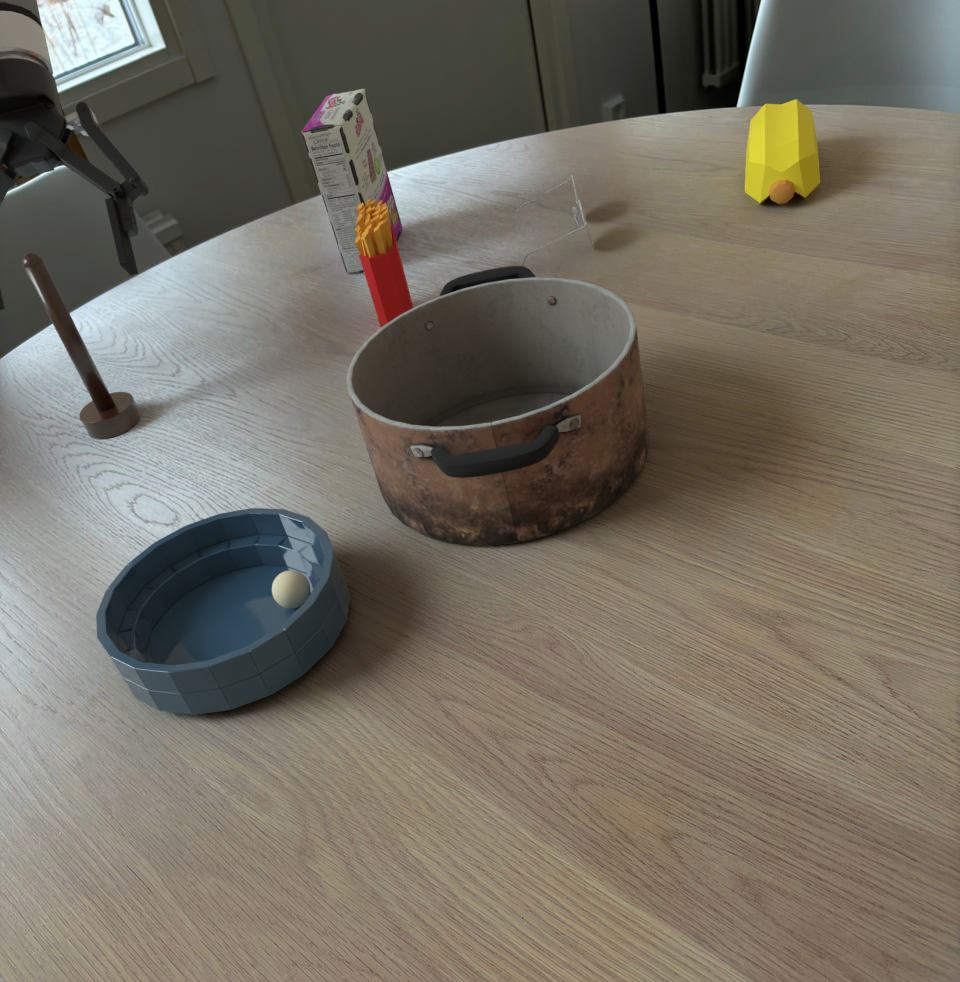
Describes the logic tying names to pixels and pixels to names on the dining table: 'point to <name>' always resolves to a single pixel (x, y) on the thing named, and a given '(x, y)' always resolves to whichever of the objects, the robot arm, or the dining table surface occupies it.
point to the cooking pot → (503, 407)
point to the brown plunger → (83, 361)
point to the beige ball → (291, 589)
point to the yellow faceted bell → (781, 153)
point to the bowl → (222, 611)
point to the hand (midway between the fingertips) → (61, 287)
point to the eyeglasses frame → (576, 216)
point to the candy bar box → (348, 167)
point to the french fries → (381, 262)
